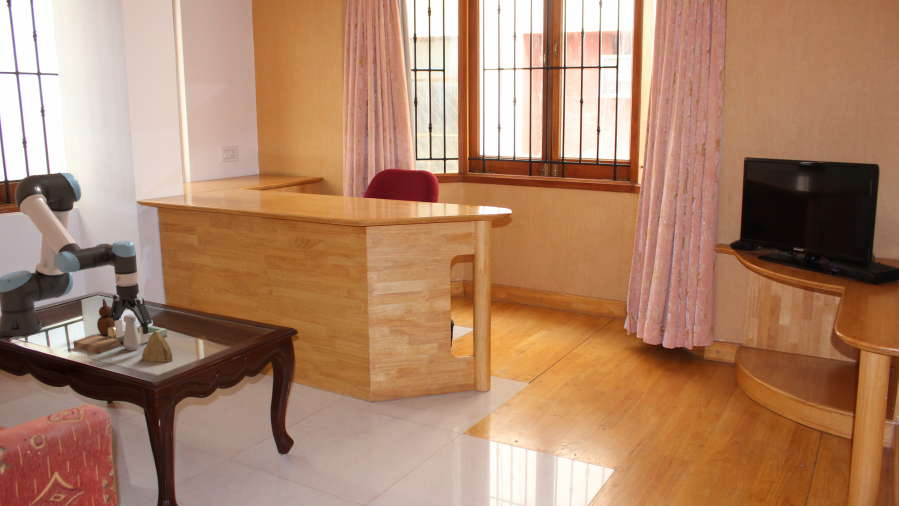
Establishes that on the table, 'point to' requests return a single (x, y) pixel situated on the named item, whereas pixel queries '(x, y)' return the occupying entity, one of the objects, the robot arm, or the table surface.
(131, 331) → the salt shaker
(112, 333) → the bench dog
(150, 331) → the tray
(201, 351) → the table surface
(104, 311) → the wooden figurine
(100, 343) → the brown grooved block
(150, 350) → the tan rounded pyramid
